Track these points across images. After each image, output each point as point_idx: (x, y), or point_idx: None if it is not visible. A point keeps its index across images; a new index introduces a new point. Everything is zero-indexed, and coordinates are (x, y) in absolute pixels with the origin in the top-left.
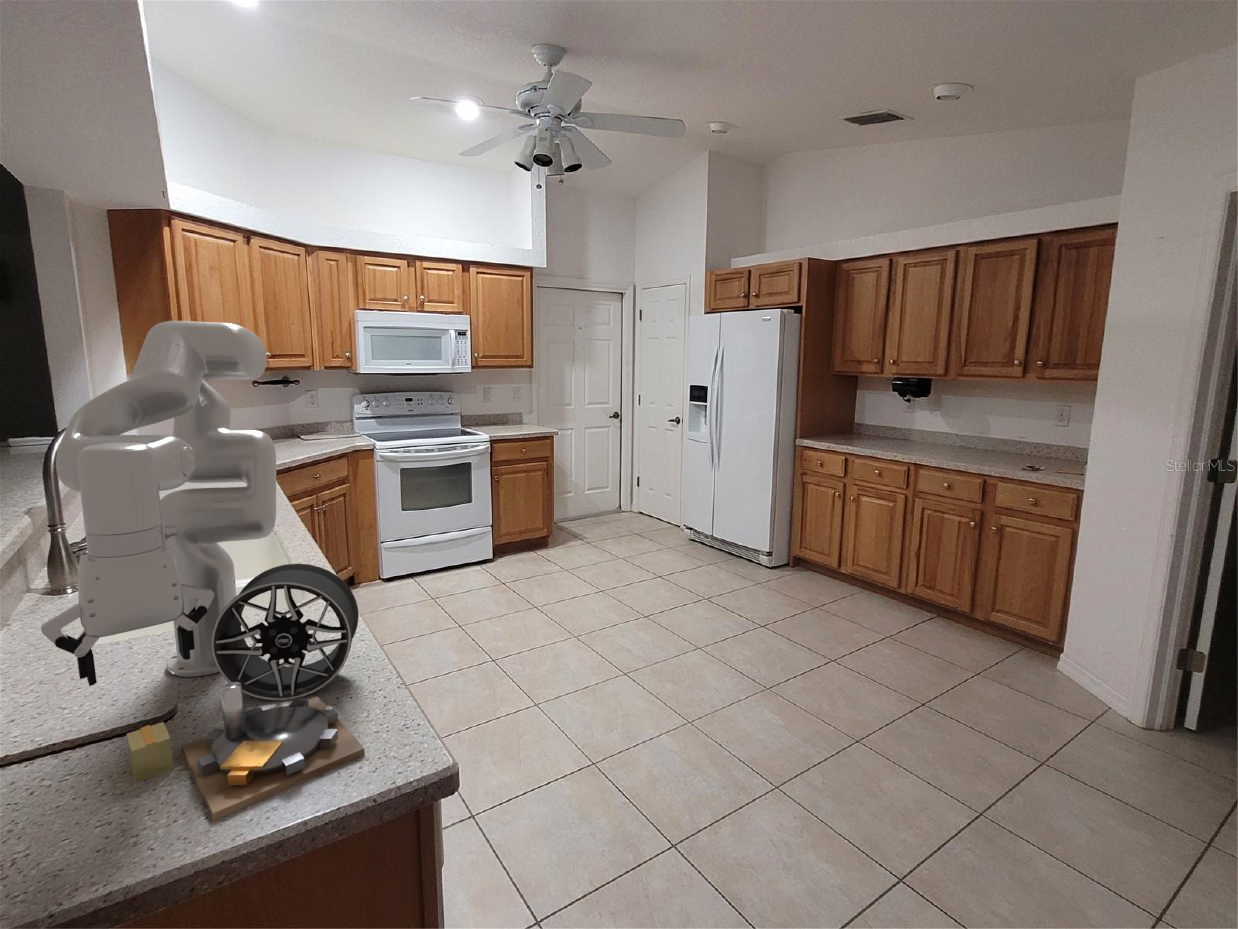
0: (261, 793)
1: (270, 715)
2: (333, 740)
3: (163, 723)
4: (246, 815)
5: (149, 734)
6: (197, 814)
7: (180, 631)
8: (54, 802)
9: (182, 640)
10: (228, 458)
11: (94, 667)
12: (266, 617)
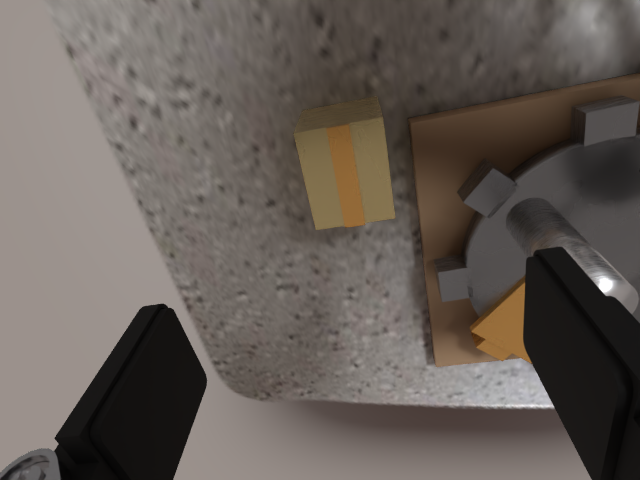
0: (509, 358)
1: (636, 175)
2: None
3: (382, 127)
4: (475, 366)
5: (350, 182)
6: (414, 332)
7: (608, 462)
8: (189, 182)
9: (575, 444)
10: None
11: (182, 447)
12: None
